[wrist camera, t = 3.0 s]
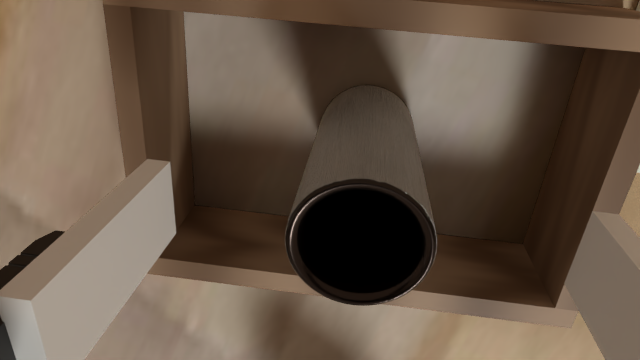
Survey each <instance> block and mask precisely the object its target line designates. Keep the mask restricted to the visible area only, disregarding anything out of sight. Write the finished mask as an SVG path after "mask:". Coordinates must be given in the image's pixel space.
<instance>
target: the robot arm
mask: <svg viewBox="0 0 640 360" xmlns="http://www.w3.org/2000/svg"><path fill="white" fill-rule="evenodd" d="M175 234H176V224H175V213H174V201H173V189H172V178H171V166H170V162H169V161H161V160H152V159H147V160H146V161H144V162H143V163H142V164H141V165H140V166H139V167H138V168H137V169H135V170H134V171H133V172H132V173H131V174H130V175H129V176H128V177H126V178H125V179H124V180H123V181H122V182H121V183H120V184H119V185H117V186H116V187H115V188H114V189H113V190H112V191H111V192H110V193H108V194H107V195H106V196H105V197H104V198H103V199H102V200H101V201H99V202H98V203H97V204H96V205H95V206H94V207H93V208H92V209H90V210H89V211H88V212H87V213H86V214H85V215H84V216H83V217H81V218H80V219H79V220H78V221H77V222H76V223H75V224H74V225H72V226H71V227H70V228H69V229H68V230H67V231H66V232H63V231H54V232H52V233H50V234H48V235H45V236H43V237H41V238H39V239H37V240H35V241H34V242H33V243H32V244H31V245H29V246H28V247H27V248H26V249H25V250H23V251H22V252H21V255H17V256H16V257H15V258H14V259H13V260H11V261H10V262H9V265H8V266H4V267H3V268H2V269H1V270H0V360H84V359H85V358H86V357H87V355H88V354H89V353H90V351H91V350H92V348H93V347H94V346H95V344H96V343H97V342H98V340H99V339H100V337H101V336H102V335H103V333H104V332H105V331H106V329H107V328H108V326H109V325H110V324H111V322H112V321H113V320H114V318H115V317H116V315H117V314H118V313H119V311H120V310H121V309H122V307H123V306H124V304H125V303H126V302H127V300H128V299H129V298H130V296H131V295H132V293H133V292H134V291H135V289H136V288H137V287H138V285H139V284H140V282H141V281H142V280H143V278H144V277H145V276H146V274H147V273H148V271H149V270H150V269H151V267H152V266H153V265H154V263H155V262H156V260H157V259H158V258H159V256H160V255H161V254H162V252H163V251H164V249H165V248H166V247H167V245H168V244H169V243H170V241H171V240H172V238H173V237H174V236H175ZM564 284H565V286H566V288H567V290H568V292H569V293H570V295H571V297H572V299H573V301H574V303H575V304H576V306H577V308H578V310H579V312H580V314H581V316H582V317H583V319H584V321H585V323H586V325H587V327H588V328H589V330H590V332H591V334H592V336H593V338H594V340H595V341H596V343H597V345H598V347H599V349H600V351H601V353H602V354H603V356H604V358H605V360H640V237H639V236H638V235H637V234H636V233H635V232H634V231H633V229H632V228H631V227H630V226H629V225H628V224H627V223H626V222H625V220H624V219H623V218H622V217H621V216H620V215H619V214H613V213H604V212H595V211H592V214H591V216H590V219H589V221H588V224H587V226H586V229H585V232H584V234H583V237H582V239H581V242H580V244H579V247H578V249H577V252H576V255H575V257H574V260H573V262H572V265H571V267H570V270H569V272H568V275H567V278H566V280H565V283H564Z"/></svg>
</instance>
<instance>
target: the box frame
mask: <svg viewBox="0 0 640 360" xmlns="http://www.w3.org/2000/svg"><path fill="white" fill-rule="evenodd" d="M103 7H104V14H105V22H106V30H107V37H108V45H109V53H110V60H111V68H112V75H113V83H114V91H115V98H116V106H117V114H118V121H119V129H120V136H121V144H122V152H123V159H124V167H125V175H126V177H128V176H129V175H130V174H131V173H132V172H133V171H134V170H135V169H137V168H138V167H139V166H140V165H141V164H142V163H143V162H144V161H146V160H147V159H152V160H161V161H169V162H170V166H171V178H172V189H173V201H174V213H175V224H176V234H175V236H174V237H173V238H172V240H171V241H170V243H169V244H168V245H167V247H166V248H165V249H164V251H163V252H162V254H161V255H160V256H159V258H158V259H157V260H156V262H155V263H154V265H153V266H152V267H151V269H150V270H149V271H148V273H147V274H154V275H162V276H170V277H178V278H185V279H193V280H201V281H208V282H216V283H224V284H232V285H239V286H247V287H255V288H262V289H270V290H278V291H286V292H293V293H301V294H309V295H317V296H323V295H321V294H319V293H317V292H316V291H314V290H313V289H311V288H310V287H309V286H308V285H307V284H306V283H304V282H303V281H302V279H301V278H300V277H299V276H298V275H297V273H296V272H295V271H294V269H293V267H292V265H291V263H290V261H289V259H288V256H287V252H286V247H285V231H286V226H287V222H288V218H289V216H281V215H272V214H264V213H256V212H247V211H239V210H230V209H222V208H213V207H205V206H196V205H195V201H194V184H193V167H192V150H191V133H190V116H189V99H188V82H187V65H186V48H185V31H184V14H183V11H185V12H196V13H208V14H219V15H230V16H241V17H252V18H263V19H275V20H286V21H297V22H308V23H319V24H330V25H342V26H353V27H364V28H375V29H386V30H397V31H409V32H420V33H431V34H442V35H453V36H464V37H476V38H487V39H498V40H509V41H520V42H531V43H543V44H554V45H565V46H576V47H586V48H585V52H584V55H583V58H582V61H581V64H580V67H579V70H578V73H577V77H576V80H575V83H574V86H573V89H572V92H571V95H570V98H569V102H568V105H567V108H566V111H565V114H564V117H563V120H562V123H561V127H560V130H559V133H558V136H557V139H556V142H555V145H554V148H553V152H552V155H551V158H550V161H549V164H548V167H547V170H546V173H545V177H544V180H543V183H542V186H541V189H540V192H539V195H538V198H537V202H536V205H535V208H534V211H533V214H532V217H531V220H530V223H529V227H528V230H527V233H526V236H525V239H524V242H523V244H517V243H509V242H500V241H492V240H484V239H475V238H467V237H458V236H450V235H441V234H436V235H437V252H436V257H435V260H434V263H433V265H432V267H431V269H430V271H429V273H428V274H427V276H426V277H425V278H424V280H423V281H422V282H421V283H420V284H419V285H418V286H417V287H416V288H414V289H413V290H412V291H410V292H409V293H407V294H406V295H404V296H402V297H400V298H398V299H395V300H393V301H390V302H386V303H382V304H386V305H394V306H401V307H409V308H417V309H425V310H432V311H440V312H448V313H455V314H463V315H471V316H479V317H486V318H494V319H502V320H510V321H517V322H525V323H533V324H540V325H548V326H556V327H564V328H572V326H573V323H574V321H575V318H576V316H577V314H578V311H579V310H578V308H577V306H576V304H575V303H574V301H573V299H572V297H571V295H570V293H569V292H568V290H567V288H566V286H565V284H564V283H565V280H566V278H567V275H568V272H569V270H570V267H571V265H572V262H573V260H574V257H575V255H576V252H577V249H578V247H579V244H580V242H581V239H582V237H583V234H584V232H585V229H586V226H587V224H588V221H589V219H590V216H591V214H592V211H595V212H604V213H613V214H619V213H620V211H621V208H622V206H623V203H624V201H625V199H626V196H627V194H628V191H629V189H630V187H631V184H632V182H633V180H634V177H635V175H636V172H637V170H638V168H639V165H640V12H639V11H635V10H631V9H626V8H618V7H606V6H594V5H582V4H570V3H558V2H546V1H534V0H103ZM324 297H325V296H324Z"/></svg>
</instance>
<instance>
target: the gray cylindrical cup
mask: <svg viewBox="0 0 640 360" xmlns="http://www.w3.org/2000/svg"><path fill="white" fill-rule="evenodd" d="M285 247H286V252H287V256H288V259H289V261H290V263H291V265H292V267H293V269H294V271H295V272H296V273H297V275H298V276H299V277H300V278H301V279H302V281H303V282H304V283H306V284H307V285H308V286H309V287H310V288H311V289H313V290H314V291H316V292H317V293H319V294H321V295H323V296H325V297H327V298H329V299H331V300H334V301H337V302H341V303H345V304H350V305H377V304H382V303H386V302H390V301H393V300H395V299H398V298H400V297H402V296H404V295H406V294H407V293H409V292H410V291H412V290H413V289H414V288H416V287H417V286H418V285H419V284H420V283H421V282H422V281H423V280H424V278H425V277H426V276H427V274H428V273H429V271H430V269H431V267H432V265H433V263H434V260H435V257H436V252H437V235H436V229H435V224H434V219H433V214H432V210H431V205H430V200H429V196H428V191H427V186H426V181H425V177H424V172H423V167H422V163H421V158H420V153H419V149H418V144H417V139H416V135H415V130H414V125H413V121H412V118H411V115H410V113H409V111H408V109H407V107H406V105H405V104H404V103H403V101H402V100H401V99H400V98H399V97H398V96H396V95H395V94H394V93H392V92H390V91H389V90H386V89H384V88H381V87H377V86H369V85H366V86H357V87H353V88H350V89H348V90H346V91H344V92H342V93H341V94H339V95H338V96H337V97H335V98H334V99H333V100H332V101H331V103H330V104H329V105H328V107H327V109H326V110H325V112H324V114H323V117H322V119H321V122H320V125H319V128H318V131H317V134H316V137H315V140H314V143H313V146H312V149H311V152H310V155H309V158H308V161H307V164H306V167H305V170H304V173H303V176H302V179H301V182H300V185H299V188H298V191H297V194H296V197H295V200H294V203H293V206H292V209H291V212H290V215H289V218H288V222H287V226H286V231H285Z"/></svg>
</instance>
